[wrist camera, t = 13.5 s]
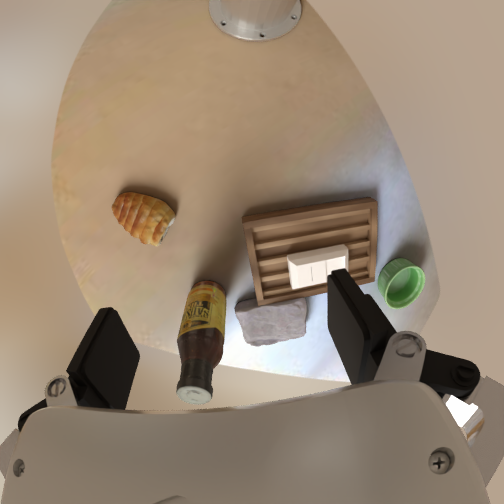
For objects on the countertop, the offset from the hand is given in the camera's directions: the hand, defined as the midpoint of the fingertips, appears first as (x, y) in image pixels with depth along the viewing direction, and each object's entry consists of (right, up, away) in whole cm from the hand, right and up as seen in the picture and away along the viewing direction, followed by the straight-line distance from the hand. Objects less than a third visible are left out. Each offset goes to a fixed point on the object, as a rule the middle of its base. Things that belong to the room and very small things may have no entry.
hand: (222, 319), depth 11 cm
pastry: (-14, +8, +27) cm, 32 cm away
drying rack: (+11, +3, +31) cm, 33 cm away
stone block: (+5, -8, +36) cm, 38 cm away
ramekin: (+28, -2, +35) cm, 45 cm away
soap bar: (+11, +1, +30) cm, 32 cm away
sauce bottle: (-6, -4, +33) cm, 34 cm away
